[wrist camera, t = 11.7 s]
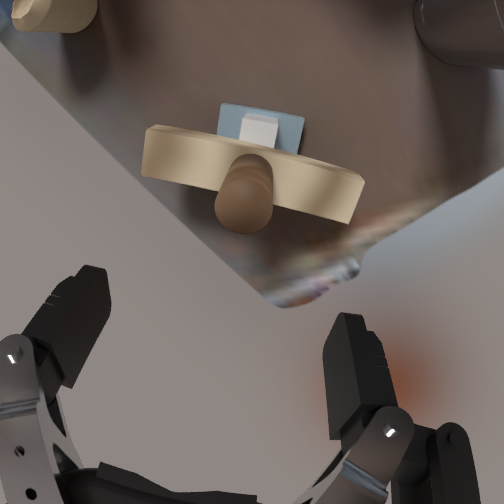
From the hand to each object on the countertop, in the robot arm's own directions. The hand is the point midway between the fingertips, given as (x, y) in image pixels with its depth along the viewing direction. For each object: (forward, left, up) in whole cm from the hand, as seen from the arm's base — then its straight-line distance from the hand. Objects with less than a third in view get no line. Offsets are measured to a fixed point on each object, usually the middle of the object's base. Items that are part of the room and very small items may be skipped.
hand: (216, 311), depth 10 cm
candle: (+22, -14, -24) cm, 36 cm away
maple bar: (0, +1, -19) cm, 19 cm away
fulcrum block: (0, +1, -24) cm, 24 cm away
